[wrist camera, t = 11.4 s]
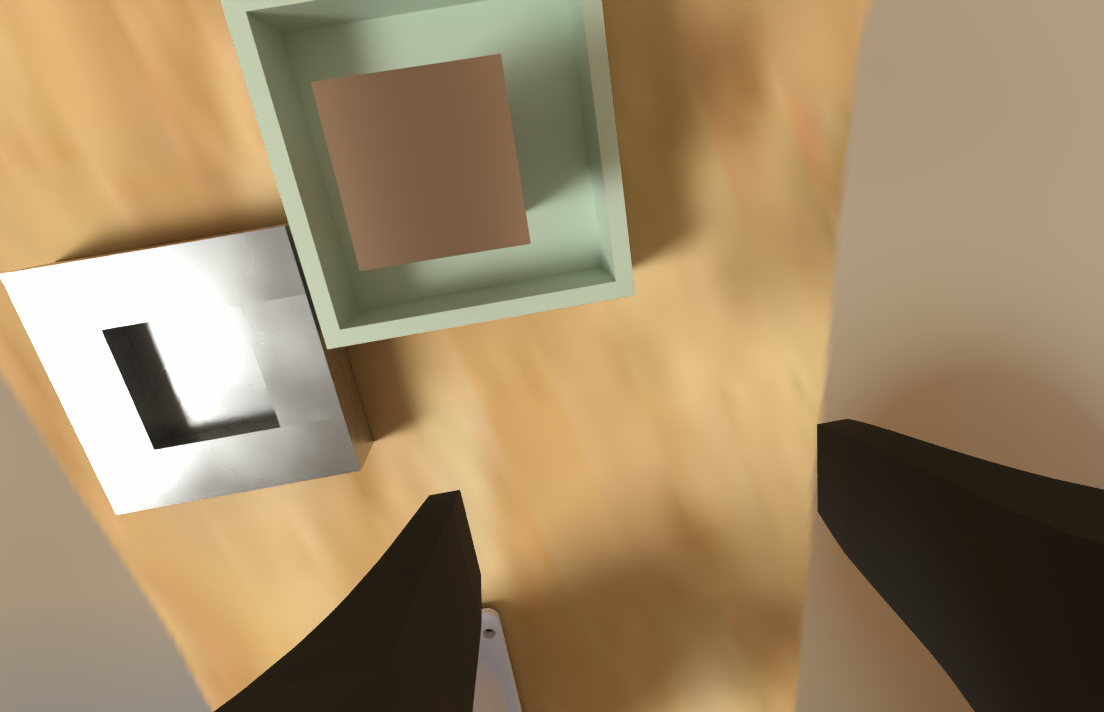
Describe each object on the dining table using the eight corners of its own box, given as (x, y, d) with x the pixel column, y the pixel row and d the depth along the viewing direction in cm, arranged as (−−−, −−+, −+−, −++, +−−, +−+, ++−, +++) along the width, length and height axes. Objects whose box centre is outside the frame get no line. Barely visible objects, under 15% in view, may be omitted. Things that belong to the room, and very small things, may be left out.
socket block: (373, 442, 21) (360, 470, 19) (152, 482, 20) (116, 514, 19) (307, 219, 18) (284, 225, 16) (52, 262, 18) (-1, 274, 16)
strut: (501, 97, 17) (501, 53, 10) (520, 214, 18) (530, 243, 11) (386, 114, 17) (310, 82, 10) (413, 231, 18) (360, 271, 11)
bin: (616, 275, 19) (635, 295, 17) (353, 321, 19) (327, 349, 16) (577, -30, 16) (593, -69, 14) (267, 21, 16) (217, -10, 13)
